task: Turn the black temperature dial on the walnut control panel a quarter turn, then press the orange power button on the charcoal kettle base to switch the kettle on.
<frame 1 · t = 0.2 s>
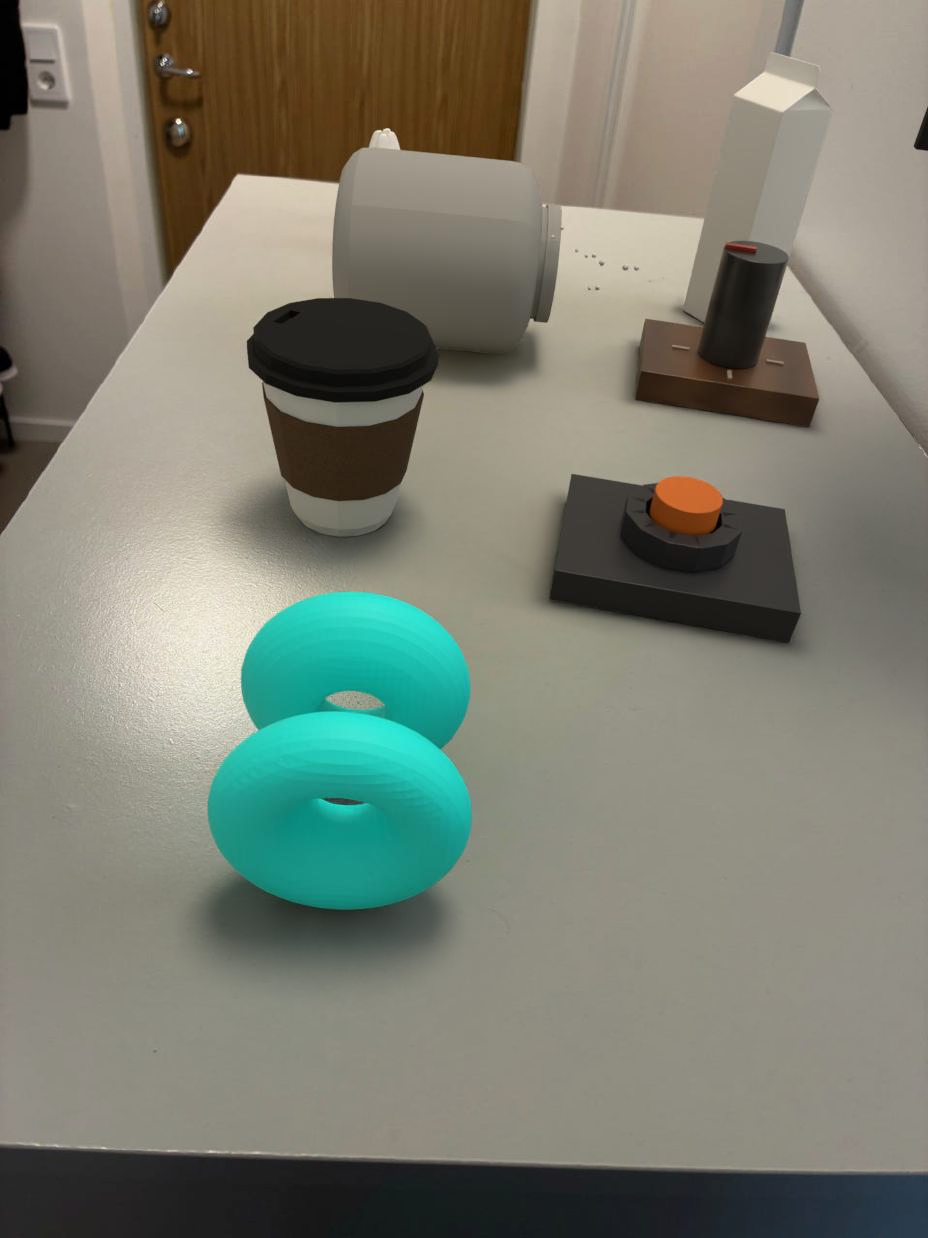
milk: (724, 320, 92), on the table
shaker set: (380, 243, 100), on the table
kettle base: (669, 566, 59), on the table
temp dial: (741, 303, 76), point 7 cm above the table, hinge at 0.0°
power button: (685, 506, 56), point 4 cm above the table, slide at 0.1 cm
donuts: (348, 827, 42), on the table
dial panel: (719, 383, 80), on the table
coffee cup: (343, 512, 61), on the table
jar: (479, 338, 84), on the table
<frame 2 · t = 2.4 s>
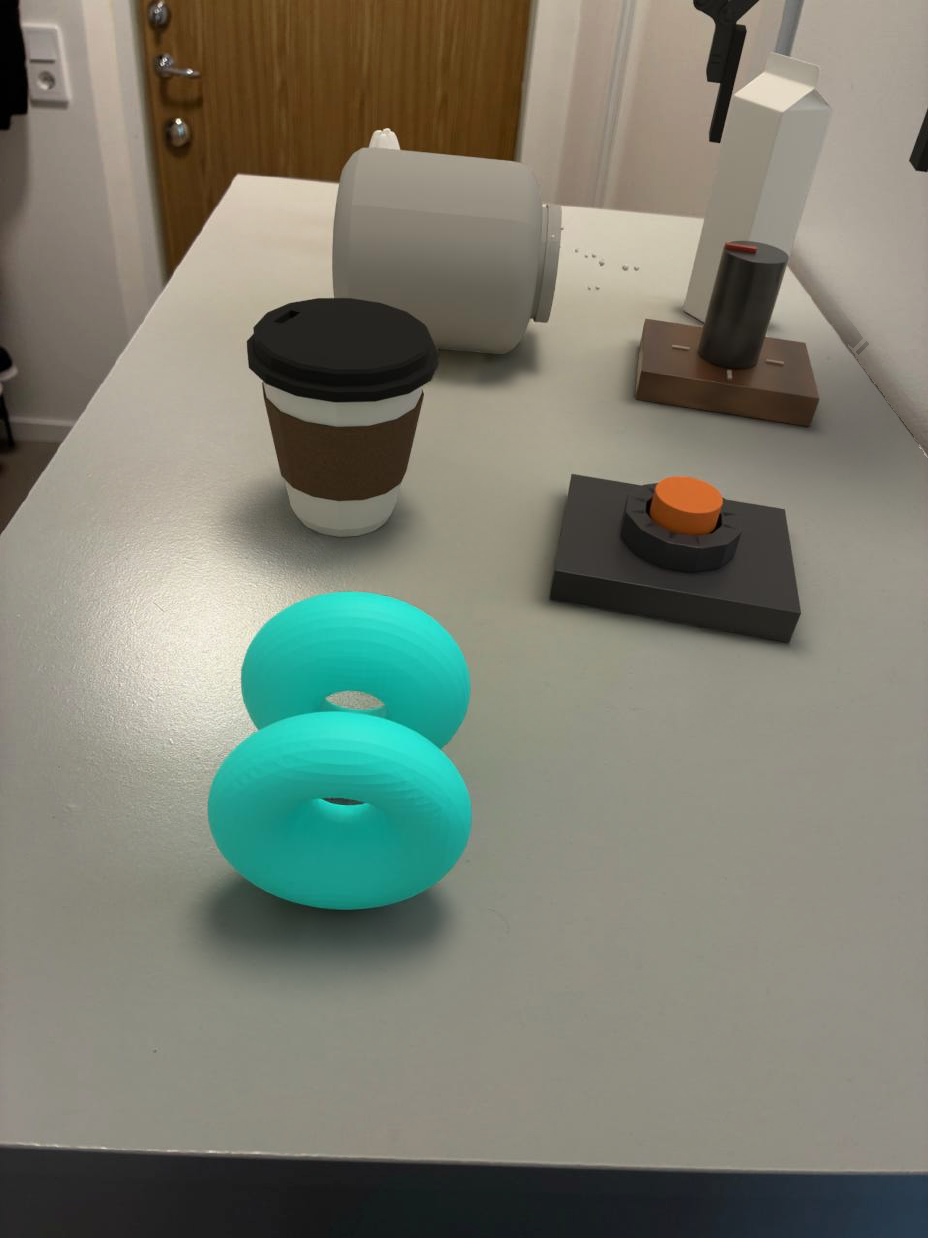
hand: (814, 152, 64), 19 cm above the table, tool pointing down, fingers open, 13 cm apart
nothing on the table moved.
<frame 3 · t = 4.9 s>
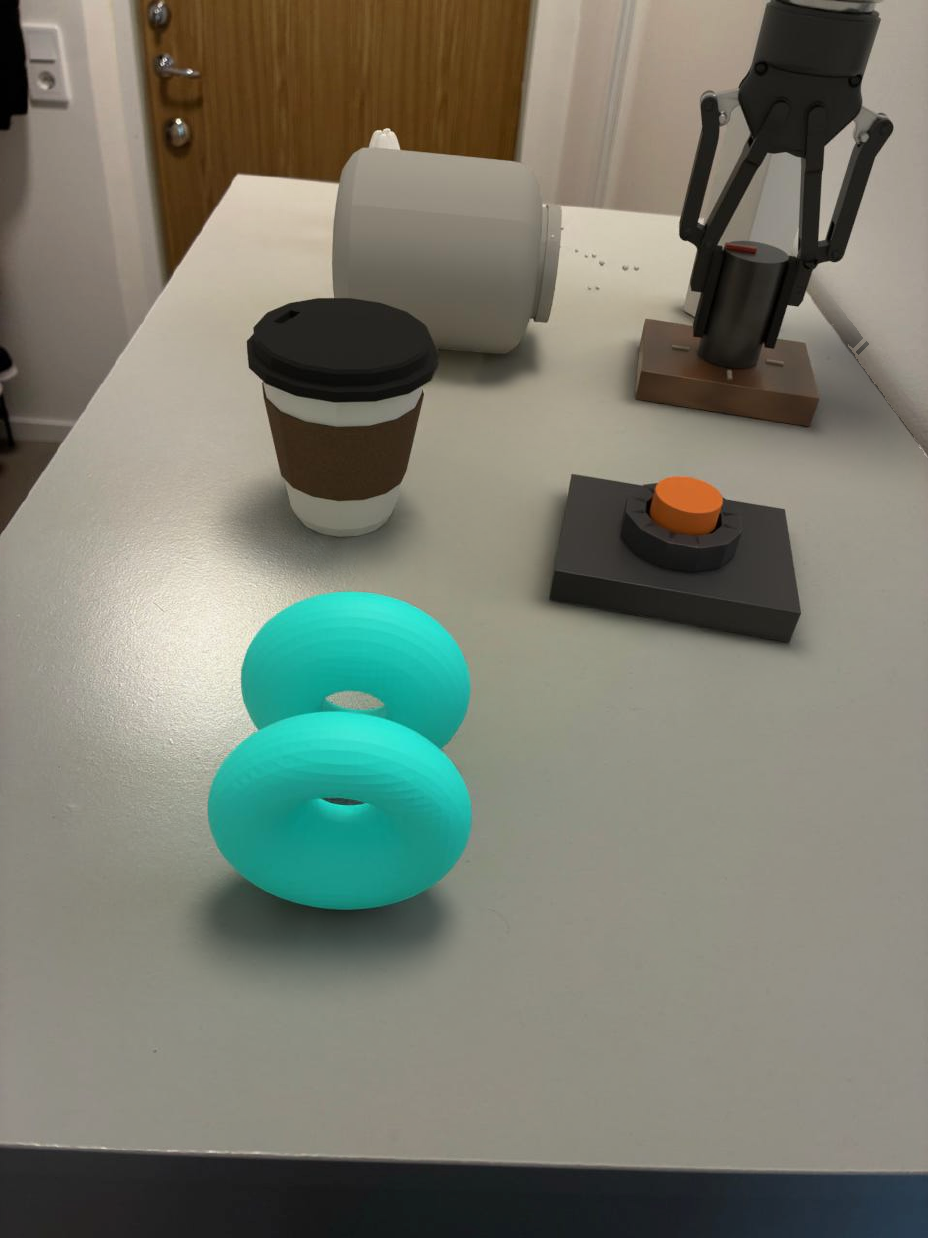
hand: (732, 335, 78), 4 cm above the table, tool pointing down, fingers closed on temp dial, 5 cm apart
temp dial: (741, 303, 76), point 7 cm above the table, hinge at 0.0°, touching gripper
everything else where it was.
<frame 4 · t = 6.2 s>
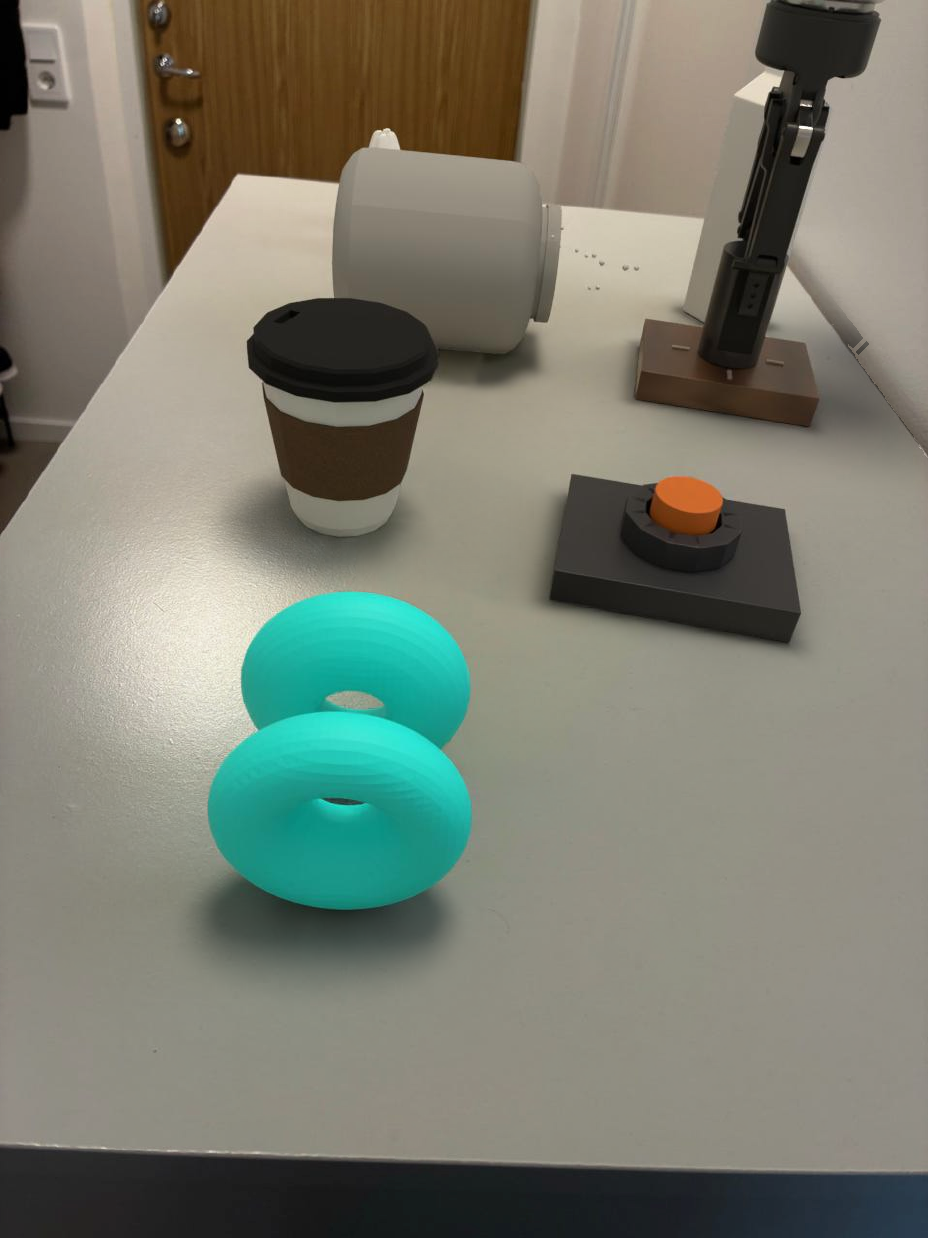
hand: (732, 335, 78), 4 cm above the table, tool pointing down, fingers closed on temp dial, 5 cm apart
temp dial: (741, 303, 76), point 7 cm above the table, hinge at 89.9°, touching gripper
everything else where it was.
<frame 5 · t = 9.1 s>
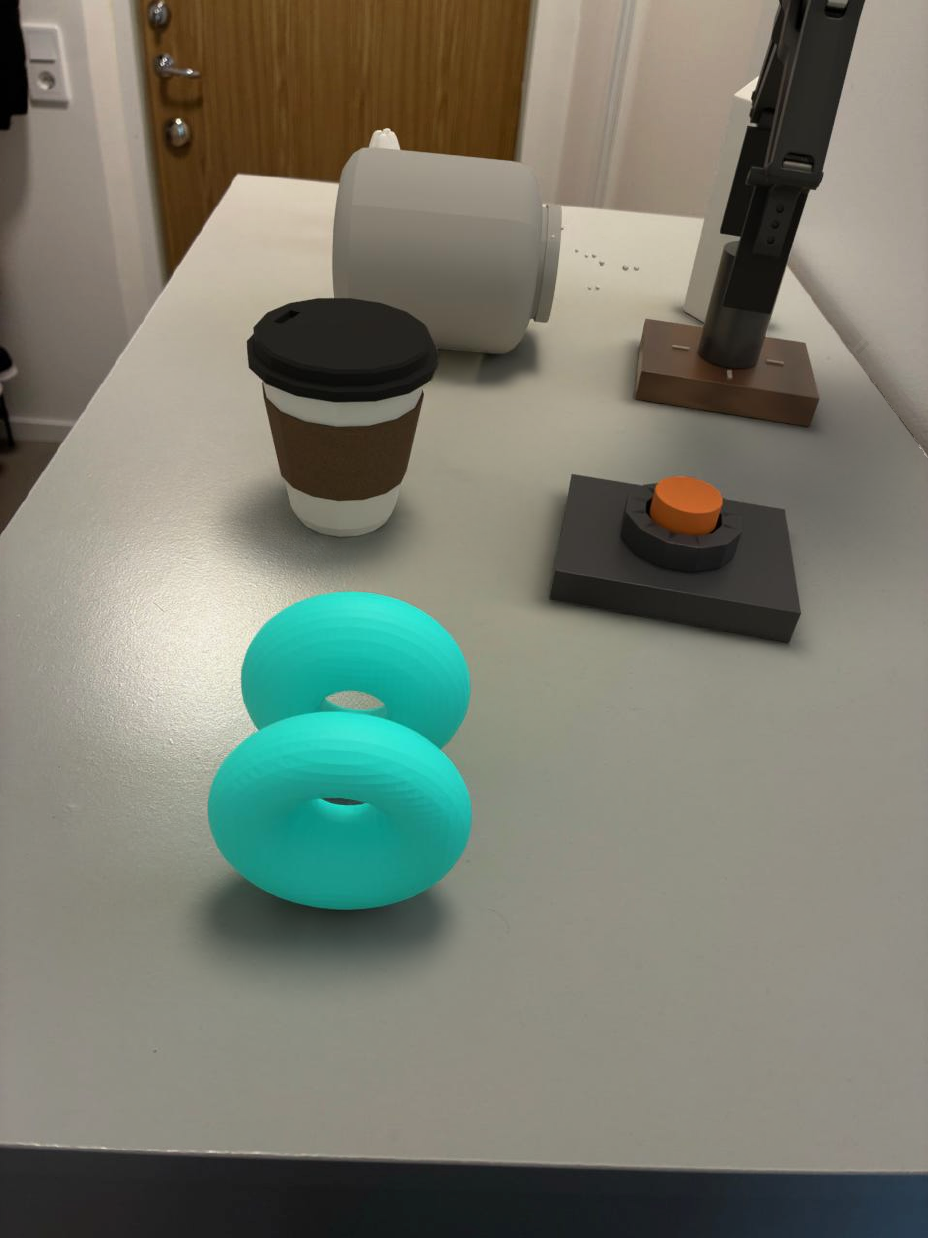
hand: (742, 269, 59), 15 cm above the table, tool pointing down, fingers open, 13 cm apart
temp dial: (741, 303, 76), point 7 cm above the table, hinge at 89.9°
everything else where it was.
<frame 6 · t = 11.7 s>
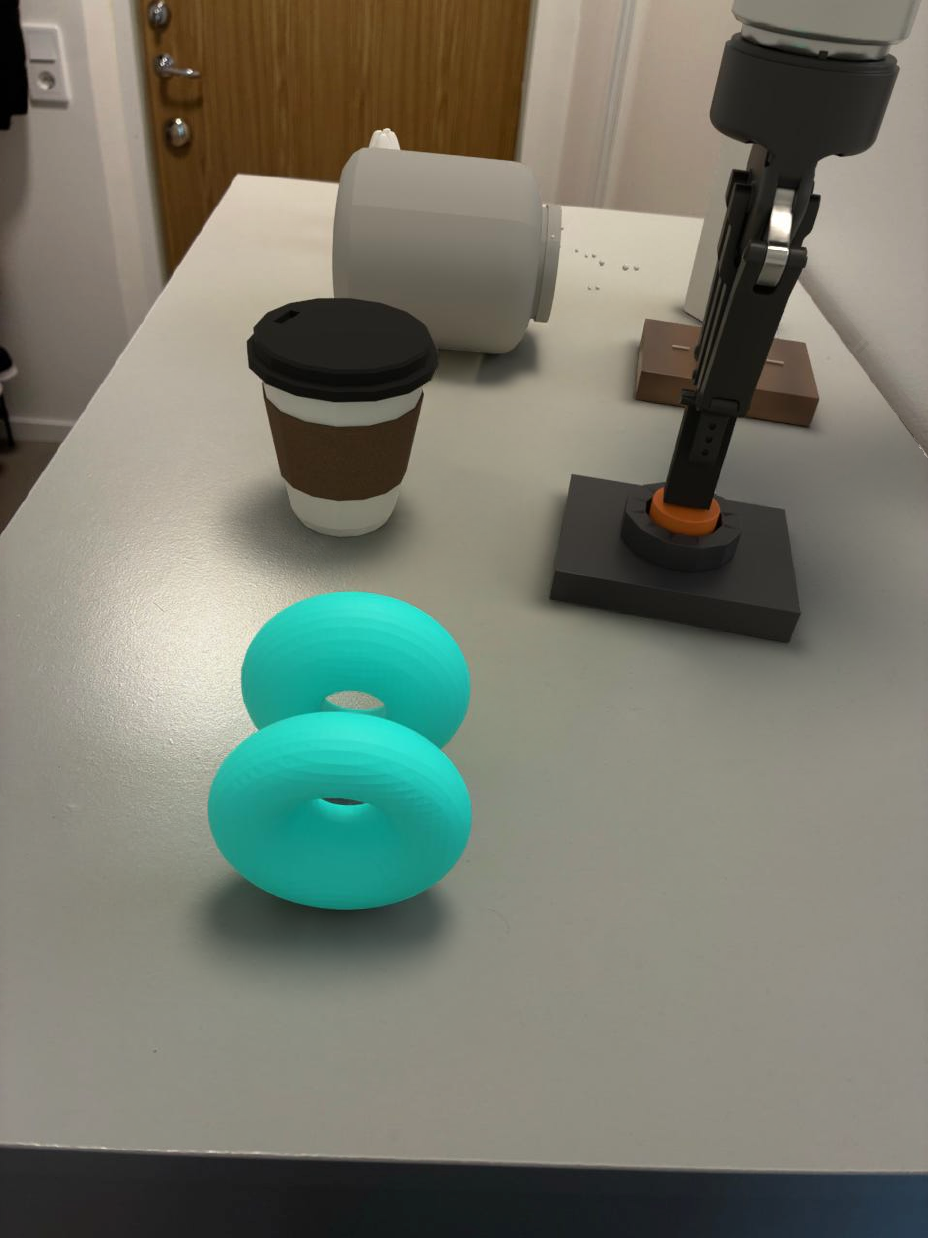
hand: (686, 499, 56), 5 cm above the table, tool pointing down, fingers closed
power button: (683, 515, 57), point 4 cm above the table, slide at -0.5 cm, touching gripper
everything else where it was.
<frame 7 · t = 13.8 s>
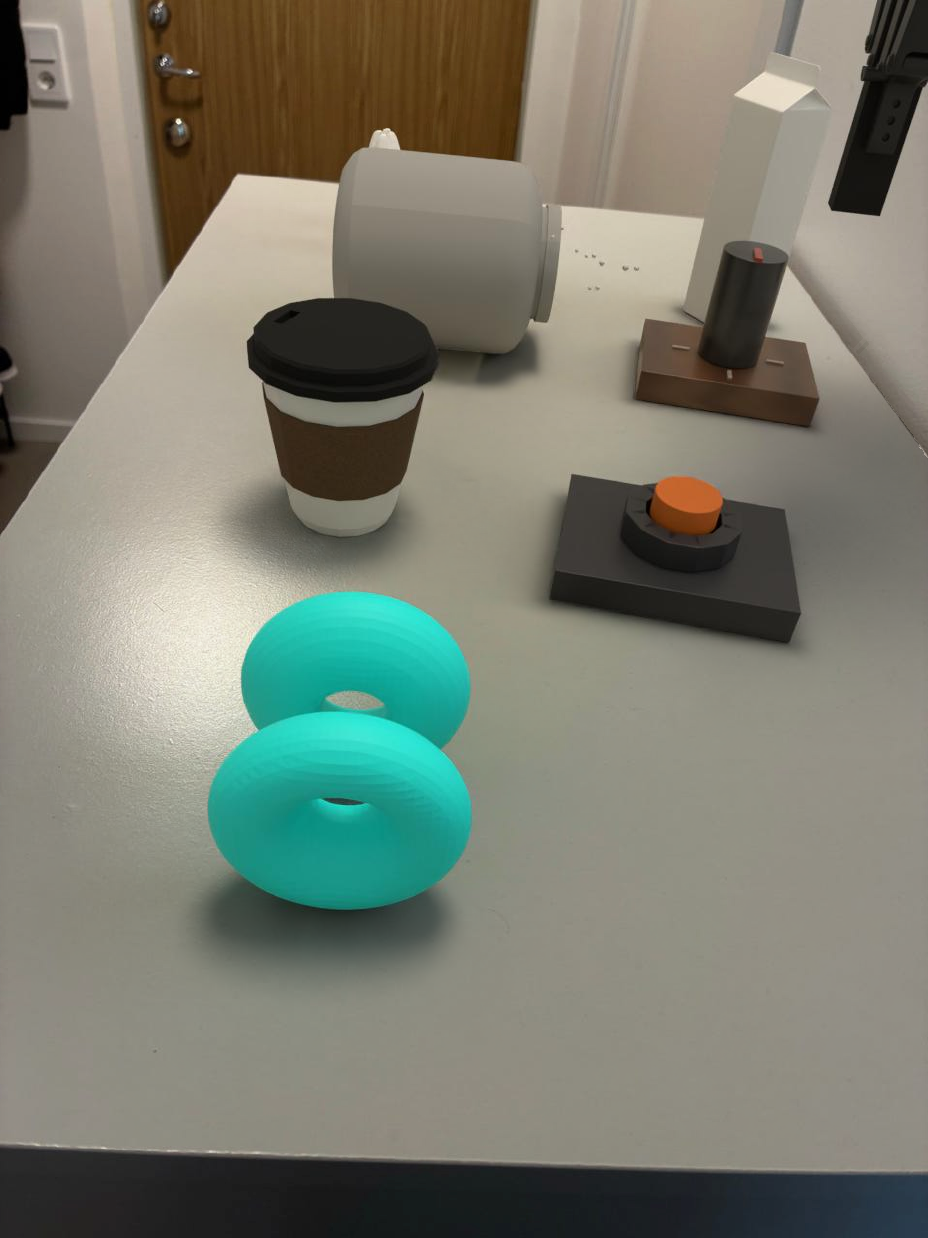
hand: (853, 209, 54), 19 cm above the table, tool pointing down, fingers closed
power button: (685, 506, 56), point 4 cm above the table, slide at 0.1 cm
everything else where it was.
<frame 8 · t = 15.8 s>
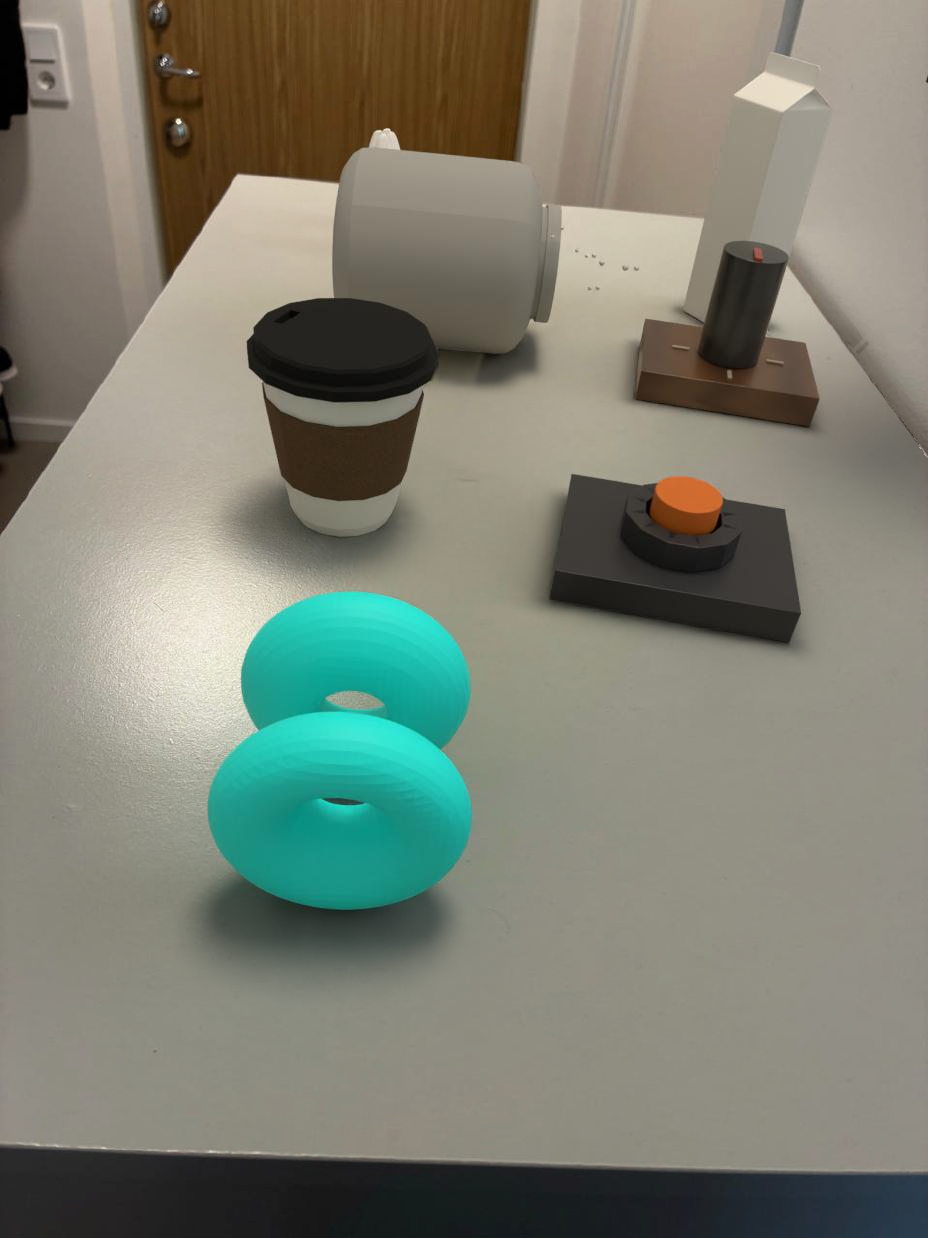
nothing on the table moved.
at the end: temp dial at +90° (first picture: +0°); power button pushed in 1.0 cm at the most during the clip, back to where it started at the end; power button slide at 0.1 cm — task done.
